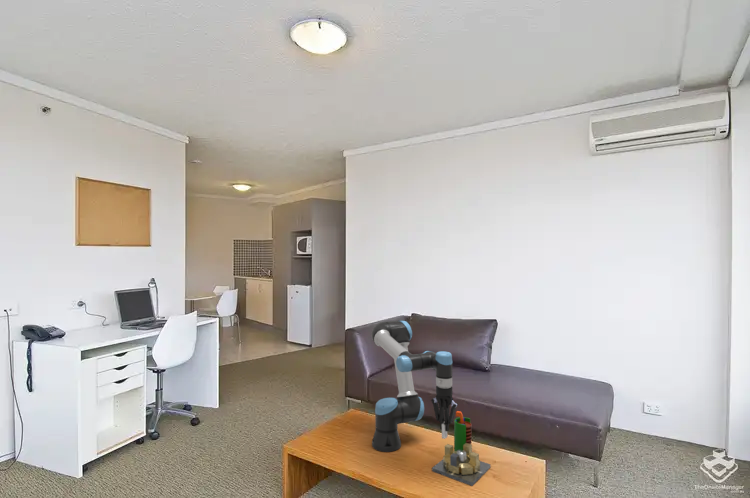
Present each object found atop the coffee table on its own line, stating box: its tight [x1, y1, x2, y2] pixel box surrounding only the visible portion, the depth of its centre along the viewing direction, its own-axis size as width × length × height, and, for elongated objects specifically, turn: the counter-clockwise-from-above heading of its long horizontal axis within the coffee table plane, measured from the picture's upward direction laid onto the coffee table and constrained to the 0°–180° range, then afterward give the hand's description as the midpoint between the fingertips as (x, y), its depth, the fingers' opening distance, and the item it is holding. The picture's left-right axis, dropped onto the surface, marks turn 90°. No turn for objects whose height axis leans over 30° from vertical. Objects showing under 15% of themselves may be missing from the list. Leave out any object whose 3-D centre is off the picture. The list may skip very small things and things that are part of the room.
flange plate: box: [431, 450, 492, 487], centre depth 192 cm, size 20×20×8 cm
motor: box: [453, 410, 473, 451], centre depth 209 cm, size 10×9×20 cm
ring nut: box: [442, 443, 481, 475], centre depth 192 cm, size 16×16×7 cm
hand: (444, 437), depth 190 cm, fingers closed
